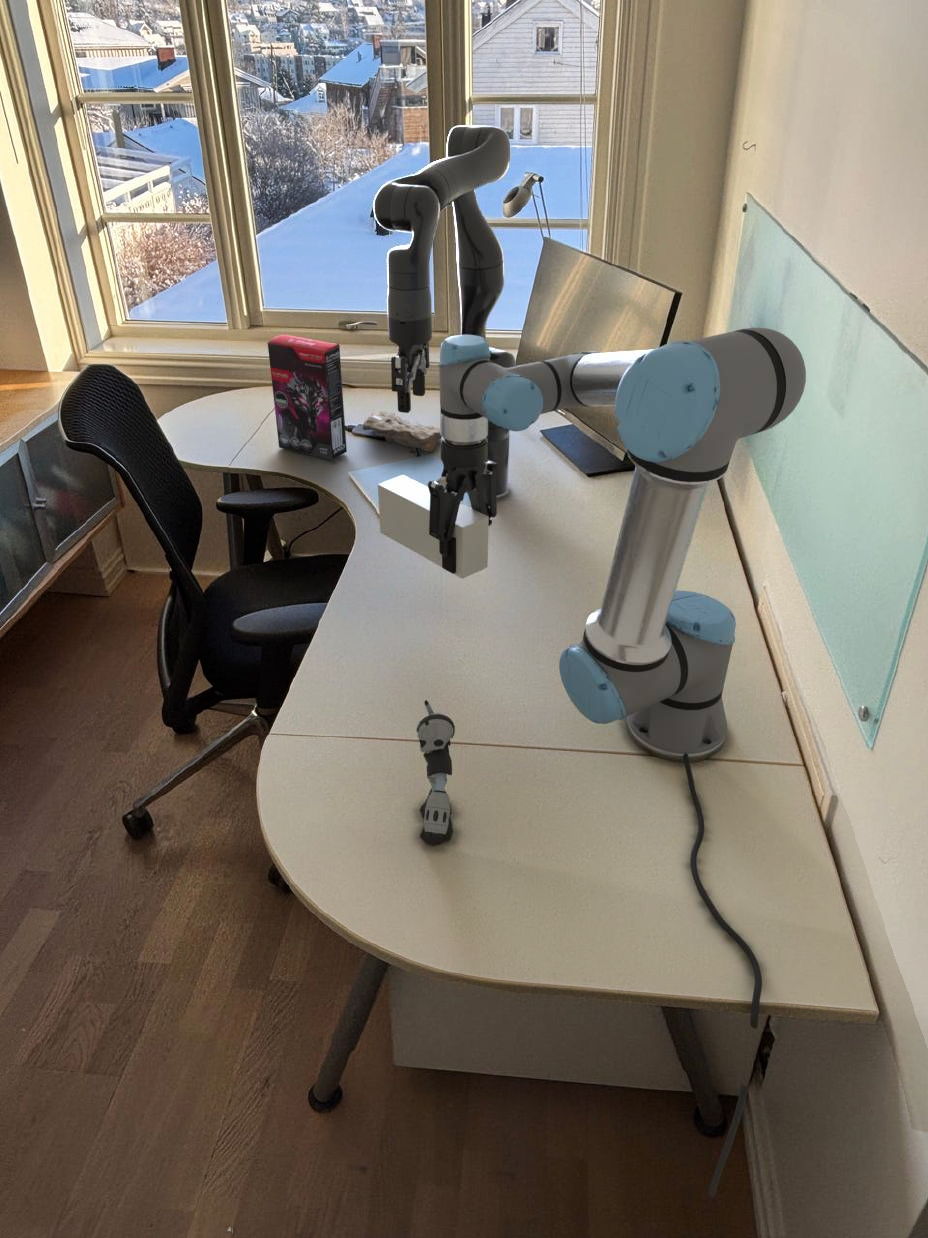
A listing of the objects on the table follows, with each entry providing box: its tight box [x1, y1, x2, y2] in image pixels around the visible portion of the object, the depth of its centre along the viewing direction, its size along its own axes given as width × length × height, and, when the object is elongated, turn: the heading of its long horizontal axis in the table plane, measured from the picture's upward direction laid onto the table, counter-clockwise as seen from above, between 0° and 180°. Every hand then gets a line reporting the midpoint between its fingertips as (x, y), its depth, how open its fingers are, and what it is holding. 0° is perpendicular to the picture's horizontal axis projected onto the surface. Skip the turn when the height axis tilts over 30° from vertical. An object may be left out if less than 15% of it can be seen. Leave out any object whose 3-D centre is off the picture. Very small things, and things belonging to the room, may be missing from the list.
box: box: [377, 474, 489, 580], centre depth 161 cm, size 22×6×10 cm, turn 43°
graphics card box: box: [267, 333, 348, 461], centre depth 223 cm, size 17×7×27 cm, turn 62°
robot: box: [415, 699, 456, 846], centre depth 121 cm, size 20×5×20 cm, turn 3°
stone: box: [362, 411, 442, 453], centre depth 234 cm, size 21×15×6 cm
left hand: (411, 403), depth 167 cm, fingers open, 8 cm apart
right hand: (463, 563), depth 158 cm, fingers closed on box, 6 cm apart
